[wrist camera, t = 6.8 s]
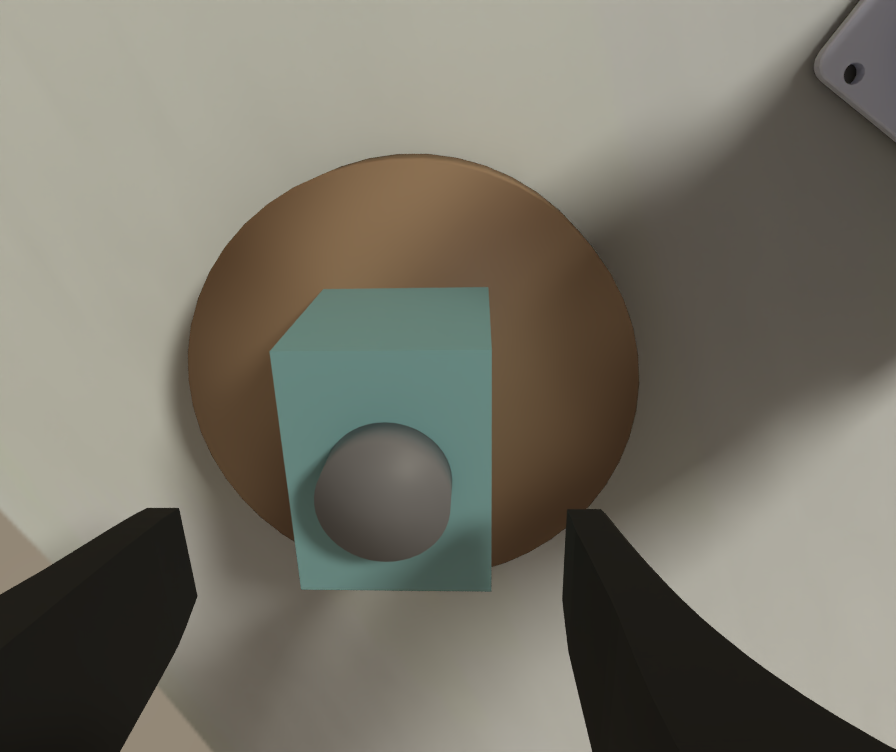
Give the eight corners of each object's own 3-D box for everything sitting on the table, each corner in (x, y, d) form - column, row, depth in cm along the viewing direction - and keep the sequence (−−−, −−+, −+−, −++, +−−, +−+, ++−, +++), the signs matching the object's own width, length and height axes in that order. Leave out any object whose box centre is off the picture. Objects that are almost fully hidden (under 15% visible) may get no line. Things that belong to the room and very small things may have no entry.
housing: (488, 287, 18) (492, 368, 12) (488, 479, 20) (492, 622, 14) (323, 288, 18) (254, 369, 12) (341, 479, 20) (289, 619, 15)
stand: (708, 312, 20) (737, 338, 18) (471, 588, 25) (471, 638, 22) (345, 57, 18) (325, 49, 16) (155, 411, 22) (118, 446, 20)
